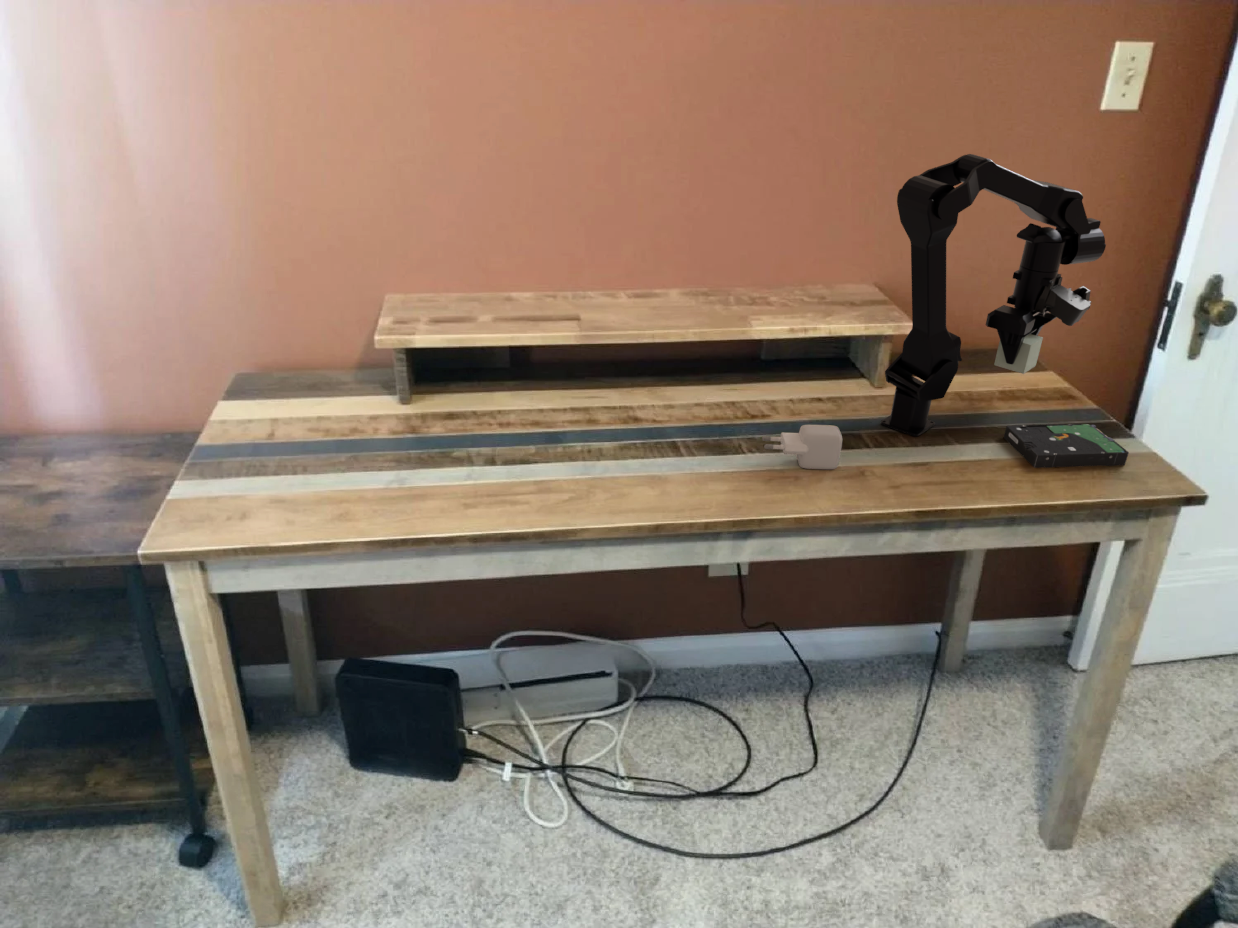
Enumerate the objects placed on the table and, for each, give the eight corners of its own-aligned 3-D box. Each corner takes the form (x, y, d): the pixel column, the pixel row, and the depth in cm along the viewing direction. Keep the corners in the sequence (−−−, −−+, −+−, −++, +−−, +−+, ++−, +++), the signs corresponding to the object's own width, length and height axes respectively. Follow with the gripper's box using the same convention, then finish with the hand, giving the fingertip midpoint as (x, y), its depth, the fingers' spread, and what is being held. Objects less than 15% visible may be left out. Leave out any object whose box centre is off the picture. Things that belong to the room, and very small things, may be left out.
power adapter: (762, 470, 141) (767, 434, 138) (758, 455, 145) (762, 419, 142) (839, 473, 141) (845, 437, 138) (832, 457, 145) (838, 422, 143)
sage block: (1023, 373, 157) (1031, 345, 155) (994, 365, 160) (1000, 336, 158) (1035, 365, 161) (1043, 337, 158) (1006, 357, 164) (1013, 329, 161)
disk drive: (1034, 472, 145) (1126, 467, 147) (1038, 455, 144) (1131, 451, 146) (1001, 440, 154) (1088, 436, 156) (1004, 424, 153) (1092, 421, 155)
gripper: (1069, 292, 142) (1043, 390, 149) (1112, 267, 154) (1086, 358, 162) (995, 274, 148) (974, 369, 156) (1042, 251, 161) (1020, 340, 168)
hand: (1016, 359), depth 160 cm, fingers closed on sage block, 5 cm apart
